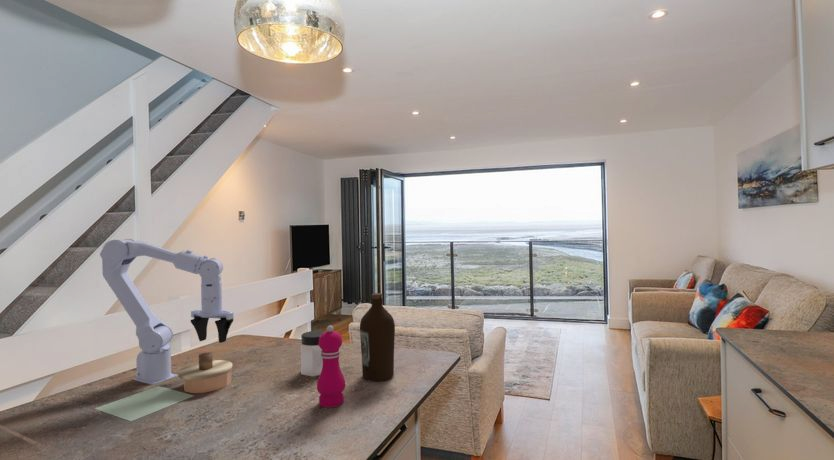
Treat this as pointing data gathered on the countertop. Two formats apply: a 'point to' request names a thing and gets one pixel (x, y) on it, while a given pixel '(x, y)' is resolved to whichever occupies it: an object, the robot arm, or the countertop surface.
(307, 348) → the jar
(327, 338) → the pepper mill
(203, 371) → the lid
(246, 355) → the countertop surface
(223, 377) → the bowl
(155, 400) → the mat
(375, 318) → the olive oil
